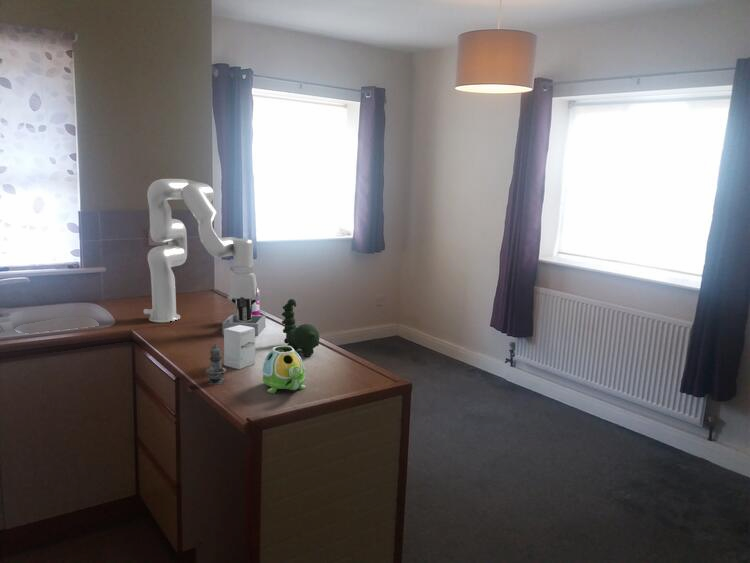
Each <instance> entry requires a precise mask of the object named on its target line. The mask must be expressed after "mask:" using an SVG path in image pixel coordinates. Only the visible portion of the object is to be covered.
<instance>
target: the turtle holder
mask: <svg viewBox="0 0 750 563" xmlns="http://www.w3.org/2000/svg"><path fill="white" fill-rule="evenodd" d="M278 350H282V351H281V352H280V351H278ZM305 370H306V369H305V366H304V362H303V360H302V357H301V356H300V355H299V353H298V352H297V350H296V351H294V349H293V348H292V347H291V346H287V345H278V346H274V347H272V349H271V350H270V351H269V352H268V353H267V355H266V357H265V359H264V362H263V366H262V375H263V376H262V381H263V383H264V384H265V385H266V386H268V387H270V388H268V389H267V392H268V393H269V394H276V393H277V390H290V391H295V390H304V389H305V388H306V385H305V384H303V383H304V382H305V379H306V377H305Z"/></svg>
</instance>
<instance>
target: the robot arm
mask: <svg viewBox="0 0 750 563" xmlns="http://www.w3.org/2000/svg"><path fill="white" fill-rule="evenodd" d="M214 198H215V192H214V189H213V188H212V186H211V185H209V184H207V183H204V182H200V181H196V180H195V181H194V180H191V179H186V178H185V179H184V178H160V179H157V180H154V181H153V182H152V183H151V184H150V185H149V187H148V189H147V204H148V208H149V210H148V211H149V232H150V238H151V240H152V241H153V242H155V243H160V244H161V243H167V244H165V245H158V246H155V247H153V248H151V249H150V250H149V251H148V252H147V263H148V266H149V271H150V282H151V283H150V284H151V302H152V303H151V304H152V306H151V307H152V308H151V309H148V308H144V309H143V314H144V315H147V316H148V315H149V317H148V320H149V321H150V322H151V323H152V322H153V323H171V322H170V321H172V322H176V321H175V320H177V321H178V319H179V320H180V319H181V315H180V314H178V313H177V300H176V299H177V296H176V293H177V292H176V277H175V275H174V272H173V270H172V268H173V267H178V266H182V265H183V264H185V263H186V260H187V259H188V258H187V257H188V236H187V228H186V225H185V224H184V223H183V221H182V220H179V219H176V218H173V217H172V209H171V205H170V204H169V202H168V201H170V200H171V201H172V200H175V201H176V200H183V202H184V204H185V205H186V207H187V208H188V210H189V211H190V212H191V214H192V215H193V217H194V219H195V220H196V221H197V223H198V236H199V239H200V242H201V243H202V245H203V246H204V249H205V250H206V251H207V252H208V253H209V254H210V255H211V256H212V257H214V258H218V259H219V258H225V257H232V256H233V265H232V266H230V267H229V270H230V271H233V273H231V276H230V283H229V284H230V285H229V287H230V288H229V294H228V295H227V297H226V298H227V300H229V301H231V302H232V303H233V304H234V305H235V306H236V309H237V299H240V298H241V297H244V299H250V306H251V310H252V305H253V304H254V303H255V302H256V301H258V300H259V301H260V300H261V296H260V293H259V294H258V292H257V287H258V284H257V276H256V274H255V273H254V243H253V241H252V240H251V239H250V238H238V237H235V236H227V237H220V238H219V237H218V235H217V233H216V232H215V230H214V228H213V221H214V220H216V218H217V217H218V212H217V210H216V208H215V207H214V205H213V204H212V202H213V201H214ZM255 297H256V298H255ZM254 298H255V299H254ZM252 299H253V300H252ZM251 313H252V312H251Z"/></svg>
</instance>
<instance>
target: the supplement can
mask: <svg viewBox="0 0 750 563" xmlns="http://www.w3.org/2000/svg"><path fill="white" fill-rule="evenodd" d="M257 292H258V294H259V295H260V289H259V288H258V286H257ZM255 298H256V297H255ZM255 298H254V299H255ZM252 300H253V299H252ZM252 315H260V300H258V301H256V302H255V303H254V304H253V305H252Z"/></svg>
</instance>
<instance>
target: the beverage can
mask: <svg viewBox="0 0 750 563" xmlns="http://www.w3.org/2000/svg"><path fill="white" fill-rule="evenodd" d="M251 312H252V310H251V306H250V299H244V297H241V298H240V299H237V308H236V315H237V320H238V321H239V322H243V323H245V322H249V321H251V320H252V313H251Z"/></svg>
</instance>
